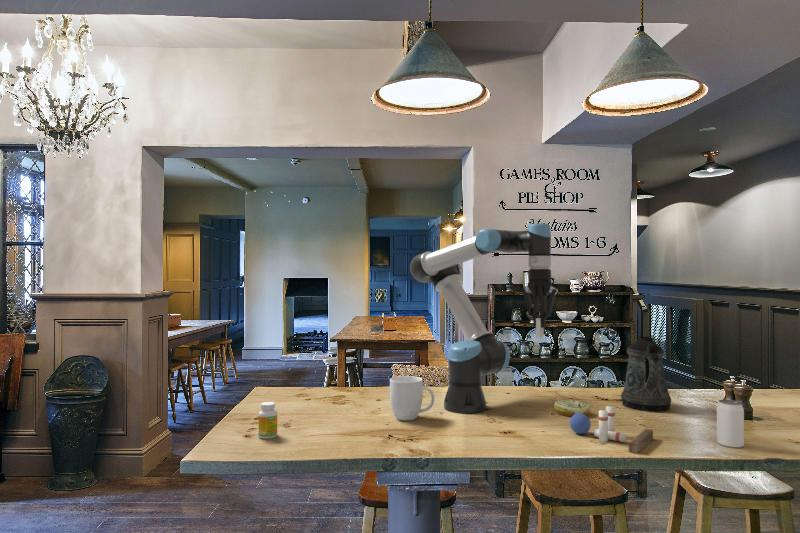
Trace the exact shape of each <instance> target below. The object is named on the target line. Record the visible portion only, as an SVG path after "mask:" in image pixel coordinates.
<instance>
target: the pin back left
mask: <svg viewBox="0 0 800 533" xmlns="http://www.w3.org/2000/svg"><path fill="white" fill-rule="evenodd" d="M605 411H608V431H612V432H616V431H615V429H616V427H615V426H616V425H615V424H616V421H615V419H616V418H615V416H616V412H615V411H616V410H615V407H614V406H612V405H611V406H608V405H606V406H605Z"/></svg>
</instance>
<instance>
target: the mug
mask: <svg viewBox="0 0 800 533" xmlns="http://www.w3.org/2000/svg"><path fill="white" fill-rule="evenodd" d="M423 381H424V380H423V378H422V377H419V376H415V375H414V376H412V375H400V376H399V375H397V376H393V377H391V378H390V379H389V399H390V406H391V410H392V413H393V414H394V415H393V416H394V417H395V418H396V419H397V420H399V421H405V422H406V421H409V422H410V421H414V420H416V419H417V418H418V416H419V414H420V413H425V412H426V411H429V410H430V409H432V408H433V406H434V403H435V394H434V392H433V390H432V389H431V388H430V387H429V386H425V385H423V384H424V382H423ZM424 390H426V391H428V392H429V393H430V395H431V401H430V404H429V405H428V406H427V407H425V408H422V403H423V395H424V394H423V393H424Z"/></svg>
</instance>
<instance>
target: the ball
mask: <svg viewBox="0 0 800 533" xmlns="http://www.w3.org/2000/svg"><path fill="white" fill-rule="evenodd" d="M591 425H592V423H591V420H590V418H589V416H586V415H584V414H581V413H577V414H574V415H573V416H570V419H569V426H570V429H571V430H572V431H573V432H574V433H575V434H577V435H584V434H586V433H588V432H589V431H590V430H591V427H592V426H591Z"/></svg>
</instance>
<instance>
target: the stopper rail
mask: <svg viewBox="0 0 800 533" xmlns="http://www.w3.org/2000/svg"><path fill="white" fill-rule="evenodd" d="M653 440H654V430H652V429H647V428H646V429H644V430H643V431H641V432H640V433H639V434H637V435H636V437H634V438H633V439H632V440H631V441H629V442H628V453H632V454H635V455H637V454H638V453H639V452H640V451H642V450H643V449H644V448H645V447H646V446H647V445H648V444H649V443H651V441H653Z"/></svg>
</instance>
